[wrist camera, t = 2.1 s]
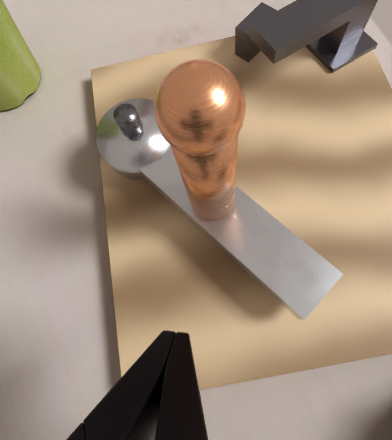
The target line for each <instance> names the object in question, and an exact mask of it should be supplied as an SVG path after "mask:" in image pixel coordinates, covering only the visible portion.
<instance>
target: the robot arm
mask: <svg viewBox="0 0 392 440" xmlns="http://www.w3.org/2000/svg"><path fill="white" fill-rule="evenodd" d="M83 422H84V424H83V423H81V424H80V425H79V426H78V427H77V428H76V429H75V431H74V432H73V433H72V434H71V435H70V436H69V437H68V438H67V439H66V440H208V436H207V431H206V425H205V420H204V414H203V408H202V403H201V397H200V392H199V386H198V380H197V375H196V369H195V364H194V358H193V352H192V347H191V341H190V336H189V334H188V333H184V332H177V333H176V332H174V331H168V330H164V331H162V332H161V333H160V334H159V335H158V336H157V338H156V339H155V340H154V341H153V342H152V343H151V344H150V346H149V347H148V348H147V349H146V350H145V351H144V352H143V353H142V355H141V356H140V357H139V358H138V359H137V360H136V361H135V363H134V364H133V365H132V366H131V367H130V368H129V369H128V371H127V372H126V373H125V374H124V375H123V376H122V377H121V378H120V380H119V381H118V382H117V383H116V384H115V385H114V386H113V388H112V389H111V390H110V391H109V392H108V393H107V394H106V396H105V397H104V398H103V399H102V400H101V401H100V402H99V403H98V405H97V406H96V407H95V408H94V409H93V410H92V411H91V413H90V414H89V415H88V416H87V417H86V418H85V419H84V421H83Z"/></svg>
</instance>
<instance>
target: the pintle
mask: <svg viewBox="0 0 392 440" xmlns="http://www.w3.org/2000/svg"><path fill="white" fill-rule="evenodd" d="M113 117H114V119H115V121H116V123H117V124H118V126H119V128H120V130H121V131H122V133H123V134H124V136H126V137H129V138H134V137H137V136H138V135H139V134H140V133H141V132H142V130H143V124H142V122H141V119H140V117H139V115H138V113H137V111H136V108H135V107H134V106H133V105H131V104H128V103H125V104H121V105H119V106H118V107H117V108H116V109H115V110H114V113H113Z"/></svg>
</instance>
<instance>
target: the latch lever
mask: <svg viewBox="0 0 392 440" xmlns="http://www.w3.org/2000/svg"><path fill="white" fill-rule="evenodd" d="M125 103H128V104H131V105H133V106H134V107H135V108H136V111H137V113H138V115H139V117H140V119H141V122H142V124H143V130H142V132H141V133H140V134H139V135H138V136H137V137H134V138H129V137H126V136H124V134H123V133H122V131H121V130H120V128H119V126H118V124H117V123H116V121H115V119H114V117H113V113H114V110H115V109H116V108H117V107H118V106H119V105H121V104H125ZM245 113H246V102H245V96H244V92H243V89H242V87H241V85H240V83H239V81H238V80H237V78H236V77H235V76H234V74H233V73H232V72H231V71H230V70H228V69H227V68H226V67H225V66H223V65H221V64H220V63H217V62H215V61H211V60H207V59H194V60H189V61H186V62H183V63H181V64H179V65H177V66H176V67H174V68H173V69H172V70H171V71H170V72H169V73H168V74H167V75H166V76H165V77H164V79H163V80H162V82H161V83H160V85H159V88H158V90H157V93H156V97H155V101H153V100H150V99H144V98H135V99H129V100H126V101H123V102H121V103H118V104H117V105H115V106H113V107H112V108H111V109H110V110H108V111H107V112H106V113H105V115H104V116H103V117H102V119H101V120H100V122H99V124H98V127H97V130H96V145H97V148H98V150H99V152H100V154H101V155H102V156H103V158H104V159H105V160H106V161H107V163H108V164H109V165H110V166H111V168H112V169H113V170H114V171H115V172H116V173H117V174H119V175H121V176H122V177H125V178H128V179H133V180H144V179H145V180H146V181H147V182H149V183H150V184H151V185H152V186H153V187H154V188H155V189H156V190H157V191H158V192H160V193H161V194H162V195H163V196H164V197H165V198H166V199H167V200H168V201H169V202H170V203H172V204H173V205H174V206H175V207H176V208H177V209H178V210H179V211H180V212H181V213H182V214H184V215H185V216H186V217H187V218H188V219H189V220H190V221H191V222H192V223H193V224H194V225H196V226H197V227H198V228H199V229H200V230H201V231H202V232H203V233H204V234H205V235H206V236H208V237H209V238H210V239H211V240H212V241H213V242H214V243H215V244H216V245H217V246H219V247H220V248H221V249H222V250H223V251H224V252H225V253H226V254H227V255H228V256H229V257H231V258H232V259H233V260H234V261H235V262H236V263H237V264H238V265H239V266H240V267H241V268H243V269H244V270H245V271H246V272H247V273H248V274H249V275H250V276H251V277H252V278H253V279H255V280H256V281H257V282H258V283H259V284H260V285H261V286H262V287H263V288H264V289H266V290H267V291H268V292H269V293H270V294H271V295H272V296H273V297H274V298H275V299H276V300H278V301H279V302H280V303H281V304H282V305H283V306H284V307H285V308H286V309H287V310H288V311H290V312H291V313H292V314H293V315H294V316H295V317H296V318H297V319H300V320H305V319H306V317H307V316H308V315H309V314H310V313H311V312H312V310H313V309H314V308H315V307H316V306H317V305H318V303H319V302H320V301H321V300H322V299H323V298H324V296H325V295H326V294H327V293H328V292H329V291H330V289H331V288H332V287H333V286H334V285H335V284H336V282H337V281H338V280H339V279H340V278H341V277H342V275H343V273H341V272H340V271H339V270H338V269H337V268H335V267H334V266H333V265H332V264H331V263H329V262H328V261H327V260H326V259H324V258H323V257H322V256H321V255H320V254H318V253H317V252H316V251H315V250H314V249H312V248H311V247H310V246H309V245H307V244H306V243H305V242H304V241H303V240H301V239H300V238H299V237H298V236H296V235H295V234H294V233H293V232H292V231H290V230H289V229H288V228H287V227H286V226H284V225H283V224H282V223H281V222H279V221H278V220H277V219H276V218H275V217H273V216H272V215H271V214H270V213H268V212H267V211H266V210H265V209H264V208H262V207H261V206H260V205H259V204H258V203H256V202H255V201H254V200H253V199H251V198H250V197H249V196H248V195H247V194H245V193H244V192H243V191H242V190H241V189H239V188H238V187H237V186H236V185H235V184H236V165H237V147H238V134H239V132H240V130H241V128H242V126H243V122H244V118H245Z"/></svg>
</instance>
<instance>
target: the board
mask: <svg viewBox="0 0 392 440" xmlns="http://www.w3.org/2000/svg"><path fill="white" fill-rule="evenodd" d="M363 31H364V30H363ZM194 59H207V60H211V61H215V62H217V63H220V64H221V65H223V66H225V67H226V68H227V69H228V70H230V71H231V72H232V73H233V74H234V76H235V77H236V78H237V80H238V81H239V83H240V85H241V87H242V89H243V92H244V96H245V102H246V113H245V118H244V122H243V126H242V128H241V130H240V132H239V134H238V147H237V165H236V184H235V185H236V186H237V187H238V188H239V189H241V190H242V191H243V192H244V193H245V194H247V195H248V196H249V197H250V198H251V199H253V200H254V201H255V202H256V203H258V204H259V205H260V206H261V207H262V208H264V209H265V210H266V211H267V212H268V213H270V214H271V215H272V216H273V217H275V218H276V219H277V220H278V221H279V222H281V223H282V224H283V225H284V226H286V227H287V228H288V229H289V230H290V231H292V232H293V233H294V234H295V235H296V236H298V237H299V238H300V239H301V240H303V241H304V242H305V243H306V244H307V245H309V246H310V247H311V248H312V249H314V250H315V251H316V252H317V253H318V254H320V255H321V256H322V257H323V258H324V259H326V260H327V261H328V262H329V263H331V264H332V265H333V266H334V267H335V268H337V269H338V270H339V271H340V272H341V273H343V275H342V277H341V278H340V279H339V280H338V281H337V282H336V284H335V285H334V286H333V287H332V288H331V289H330V291H329V292H328V293H327V294H326V295H325V296H324V298H323V299H322V300H321V301H320V302H319V303H318V305H317V306H316V307H315V308H314V309H313V310H312V312H311V313H310V314H309V315H308V316H307V317H306V319H305V320H300V319H297V318H296V317H295V316H294V315H293V314H292V313H291V312H290V311H288V310H287V309H286V308H285V307H284V306H283V305H282V304H281V303H280V302H279V301H278V300H276V299H275V298H274V297H273V296H272V295H271V294H270V293H269V292H268V291H267V290H266V289H264V288H263V287H262V286H261V285H260V284H259V283H258V282H257V281H256V280H255V279H253V278H252V277H251V276H250V275H249V274H248V273H247V272H246V271H245V270H244V269H243V268H241V267H240V266H239V265H238V264H237V263H236V262H235V261H234V260H233V259H232V258H231V257H229V256H228V255H227V254H226V253H225V252H224V251H223V250H222V249H221V248H220V247H219V246H217V245H216V244H215V243H214V242H213V241H212V240H211V239H210V238H209V237H208V236H206V235H205V234H204V233H203V232H202V231H201V230H200V229H199V228H198V227H197V226H196V225H194V224H193V223H192V222H191V221H190V220H189V219H188V218H187V217H186V216H185V215H184V214H182V213H181V212H180V211H179V210H178V209H177V208H176V207H175V206H174V205H173V204H172V203H170V202H169V201H168V200H167V199H166V198H165V197H164V196H163V195H162V194H161V193H160V192H158V191H157V190H156V189H155V188H154V187H153V186H152V185H151V184H150V183H149V182H147V181H146V180H145V179H144V180H133V179H128V178H125V177H122V176H121V175H119V174H117V173H116V172H115V171H114V170H113V169H112V168H111V166H110V165H109V164H108V163H107V161H106V160H105V159H104V158H103V156H102V155H101V154H100V152H99V157H100V167H101V177H102V187H103V197H104V207H105V217H106V227H107V237H108V248H109V258H110V268H111V278H112V288H113V298H114V308H115V318H116V328H117V338H118V348H119V358H120V368H121V377H122V376H123V375H124V374H125V373H126V372H127V371H128V369H129V368H130V367H131V366H132V365H133V364H134V363H135V361H136V360H137V359H138V358H139V357H140V356H141V355H142V353H143V352H144V351H145V350H146V349H147V348H148V347H149V346H150V344H151V343H152V342H153V341H154V340H155V339H156V338H157V336H158V335H159V334H160V333H161V332H162V331H164V330H168V331H174V332H176V333H177V332H184V333H188V334H189V336H190V341H191V347H192V352H193V358H194V364H195V369H196V375H197V380H198V386H199V390H202V389H208V388H213V387H218V386H224V385H229V384H234V383H240V382H245V381H250V380H255V379H261V378H266V377H271V376H277V375H282V374H287V373H293V372H298V371H303V370H309V369H314V368H319V367H325V366H330V365H335V364H341V363H346V362H351V361H356V360H362V359H367V358H372V357H378V356H383V355H388V354H392V89H391V87H390V85H389V83H388V81H387V78H386V76H385V74H384V72H383V70H382V68H381V66H380V64H379V62H378V60H377V58H376V55H375V53H374V51H373V50H371V51H370V52H368V53H366V54H365V55H363V56H361V57H359V58H358V59H356V60H354V61H353V62H351V63H349V64H347V65H346V66H344V67H342V68H341V69H339V70H337V71H335V72H334V73H331V72H330V71H329V70H328V69H327V68H326V67H325V66H324V64H323V63H322V62H321V61H320V60H319V59H318V58H317V57H316V56H315V55H314V54H313V53H312V52H311V51H310V50H309V49H308V48H307V47H306V46H305V47H303V48H301V49H300V50H298V51H296V52H294V53H293V54H291V55H289V56H287V57H286V58H284V59H282V60H280V61H279V62H277V63H275V64H273V63H272V62H271V61H270V60H269V59H268V58H267V56H266V55H265V54H264V53H263V52H262V51H260V52H259V53H258V54H257V55H256V56H255V57H254V58H253V59H252V60H251V61H250V62H249V63H248V62H247V61H245V60H243V59H242V58H240V57H238V56H237V55H235V36H233V37H229V38H225V39H221V40H216V41H212V42H208V43H204V44H199V45H195V46H191V47H187V48H182V49H178V50H174V51H170V52H165V53H161V54H157V55H153V56H148V57H144V58H140V59H136V60H131V61H127V62H123V63H118V64H114V65H110V66H106V67H101V68H97V69H93V70H91V76H92V87H93V97H94V107H95V117H96V127H98V124H99V122H100V120H101V119H102V117H103V116H104V115H105V113H106V112H107V111H108V110H110V109H111V108H112V107H113V106H115V105H117V104H118V103H121V102H123V101H126V100H129V99H135V98H144V99H150V100H153V101H155V97H156V93H157V90H158V88H159V85H160V83H161V82H162V80H163V79H164V77H165V76H166V75H167V74H168V73H169V72H170V71H171V70H172V69H173V68H174V67H176V66H177V65H179V64H181V63H183V62H186V61H189V60H194Z"/></svg>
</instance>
